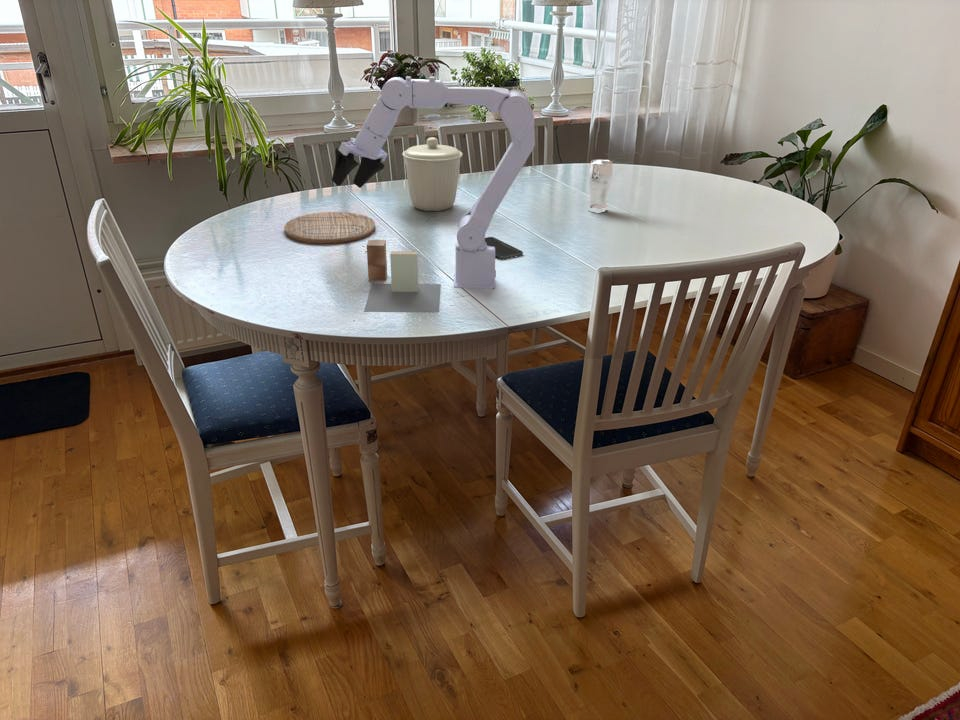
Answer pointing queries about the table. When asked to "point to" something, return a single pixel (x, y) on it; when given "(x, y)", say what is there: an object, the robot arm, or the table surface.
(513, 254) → the phone
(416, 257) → the flat slab
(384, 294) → the rubber mat
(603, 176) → the beer glass
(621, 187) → the table surface
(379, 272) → the wooden block
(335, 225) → the trivet
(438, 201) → the canister
